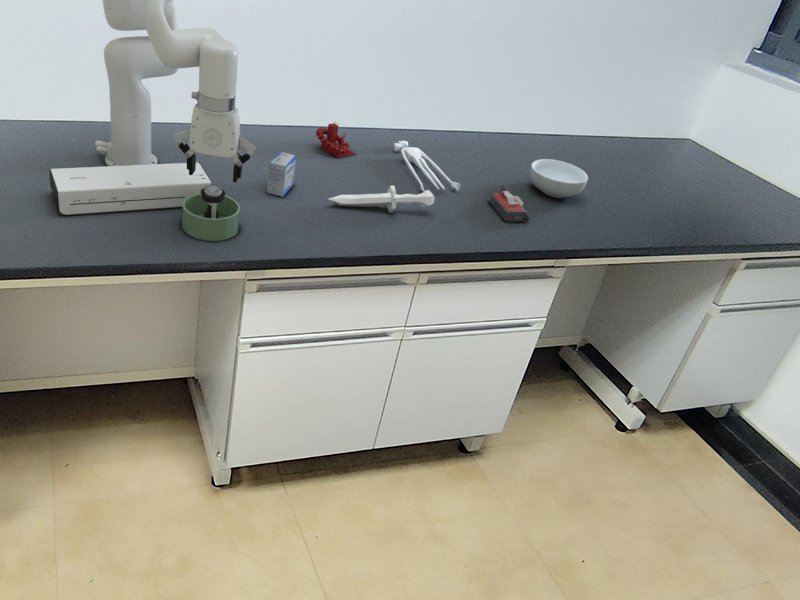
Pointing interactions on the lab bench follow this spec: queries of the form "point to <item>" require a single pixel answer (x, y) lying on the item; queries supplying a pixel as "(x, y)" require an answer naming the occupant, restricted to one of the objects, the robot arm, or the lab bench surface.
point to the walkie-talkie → (509, 206)
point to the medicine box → (281, 174)
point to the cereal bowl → (557, 178)
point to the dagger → (384, 199)
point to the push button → (212, 199)
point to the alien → (420, 163)
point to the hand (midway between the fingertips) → (214, 176)
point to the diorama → (333, 141)
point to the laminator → (125, 187)
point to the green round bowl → (210, 219)
